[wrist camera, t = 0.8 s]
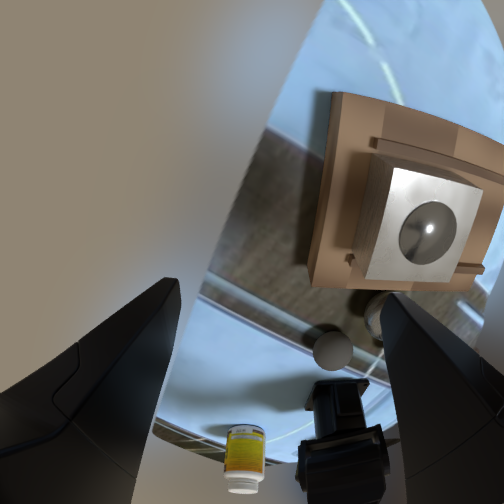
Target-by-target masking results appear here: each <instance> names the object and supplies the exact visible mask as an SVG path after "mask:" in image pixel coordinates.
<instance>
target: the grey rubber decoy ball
mask: <svg viewBox="0 0 504 504" xmlns="http://www.w3.org/2000/svg"><path fill="white" fill-rule="evenodd" d="M352 354H353V346H352V343H351V341H350V339H349V338H348V337H347V336H346V335H345V334H343V333H341V332H337V331H331V332H327V333H325V334H323V335H321V336H320V337H319V338H318V339H317V341H316V342H315V344H314V347H313V357H314V360H315V362H316V363H317V364H318V366H320V367H321V368H322V369H325V370H328V371H336V370H339V369H342V368H343V367H345V366H346V365H347V364H348V363H349V362H350V360H351V358H352Z"/></svg>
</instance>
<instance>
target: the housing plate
mask: <svg viewBox="0 0 504 504" xmlns="http://www.w3.org/2000/svg"><path fill="white" fill-rule="evenodd" d="M372 153H374V154H380V155H385V156H390V157H394V158H399V159H404V160H408V161H412V162H417V163H421V164H425V165H429V166H433V167H436V168H440V169H444V170H447V171H451V172H454V173H456V174H458V175H460V176H462V177H463V178H465V179H466V180H468V181H470V182H471V183H473V184H475V185H476V186H478V187H479V188H481V189H482V190H483V193H482V197H481V200H480V204H479V207H478V210H477V213H476V216H475V219H474V222H473V225H472V228H471V231H470V233H469V236H468V239H467V241H466V244H465V247H464V249H463V252H462V254H461V257H460V259H459V261H458V264H457V266H456V268H455V271H454V273H453V275H452V277H451V279H450V282H449V283H446V282H418V281H393V280H371V279H365V278H364V276H363V274H362V272H361V270H360V267H359V265H358V263H357V261H356V259H355V257H354V254H353V252H352V250H351V249H352V245H353V241H354V237H355V233H356V229H357V225H358V220H359V216H360V212H361V207H362V203H363V198H364V193H365V188H366V183H367V178H368V173H369V168H370V162H371V156H372ZM503 206H504V145H503V144H501V143H499V142H496V141H494V140H492V139H490V138H488V137H486V136H484V135H481V134H479V133H477V132H475V131H472V130H470V129H468V128H465V127H463V126H460V125H458V124H455V123H453V122H450V121H447V120H444V119H442V118H439V117H436V116H433V115H430V114H427V113H424V112H421V111H418V110H415V109H411V108H408V107H405V106H401V105H398V104H394V103H390V102H386V101H382V100H378V99H374V98H370V97H366V96H361V95H356V94H351V93H346V92H332V100H331V109H330V118H329V127H328V135H327V143H326V151H325V159H324V166H323V173H322V180H321V187H320V193H319V199H318V206H317V212H316V218H315V224H314V230H313V235H312V241H311V246H310V252H309V257H308V262H307V268H308V273H309V278H310V282H311V287H327V288H349V289H374V290H407V291H469V289H470V287H471V285H472V283H473V281H474V279H475V277H476V275H477V274H479V275H482V274H483V272H484V270H485V267H484V266H483V265H482V262H483V259H484V257H485V255H486V252H487V250H488V247H489V245H490V242H491V240H492V237H493V235H494V232H495V229H496V226H497V224H498V221H499V218H500V215H501V212H502V209H503Z"/></svg>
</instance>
